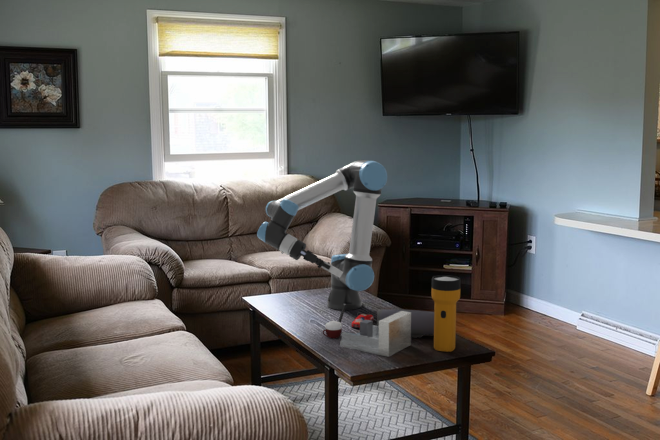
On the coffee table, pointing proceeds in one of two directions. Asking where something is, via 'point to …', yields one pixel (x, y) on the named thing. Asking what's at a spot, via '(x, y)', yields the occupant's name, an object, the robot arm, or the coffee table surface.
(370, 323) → the tall grey box
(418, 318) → the bluetooth speaker
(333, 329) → the cocoa
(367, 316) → the race car
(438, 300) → the flashlight
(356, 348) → the labeled panel enclosure
